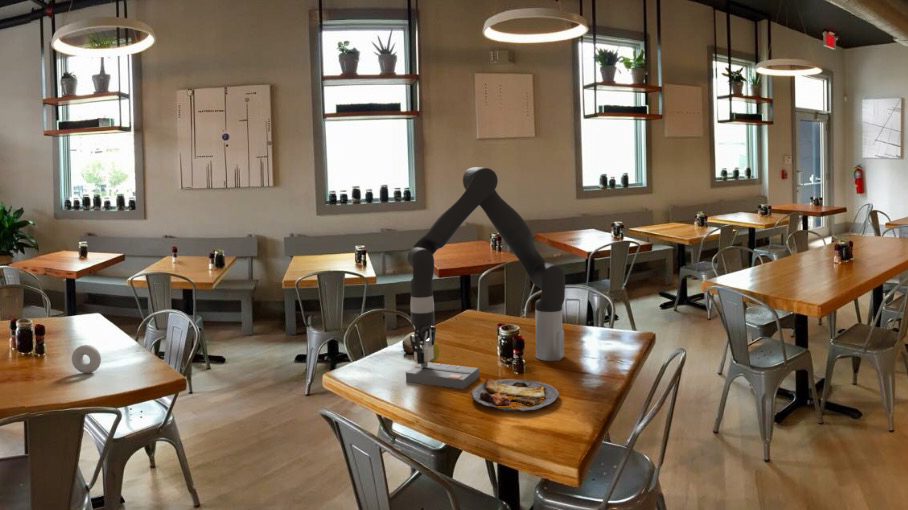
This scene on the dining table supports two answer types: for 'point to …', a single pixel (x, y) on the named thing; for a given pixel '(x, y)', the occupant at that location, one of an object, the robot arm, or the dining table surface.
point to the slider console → (443, 375)
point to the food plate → (514, 393)
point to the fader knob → (426, 355)
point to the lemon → (435, 352)
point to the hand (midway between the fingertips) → (424, 361)
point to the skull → (408, 346)
